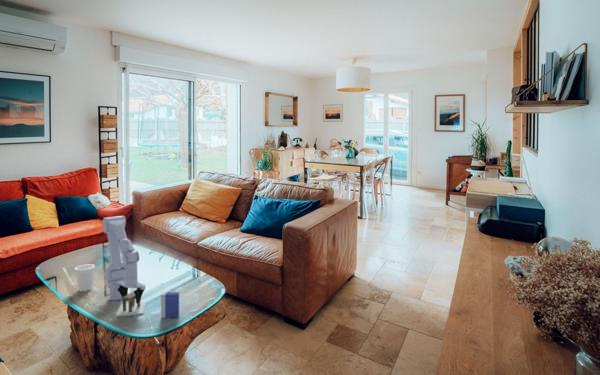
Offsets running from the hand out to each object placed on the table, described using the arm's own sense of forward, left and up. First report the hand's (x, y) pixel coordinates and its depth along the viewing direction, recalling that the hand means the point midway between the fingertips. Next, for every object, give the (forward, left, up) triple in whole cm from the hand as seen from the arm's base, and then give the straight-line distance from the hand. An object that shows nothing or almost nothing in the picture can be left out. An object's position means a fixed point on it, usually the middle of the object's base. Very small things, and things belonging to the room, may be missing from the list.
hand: (131, 301), depth 172 cm
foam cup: (-31, -29, -5) cm, 43 cm away
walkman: (+11, +19, -5) cm, 22 cm away
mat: (0, 0, -4) cm, 4 cm away
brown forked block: (0, 0, -4) cm, 4 cm away
